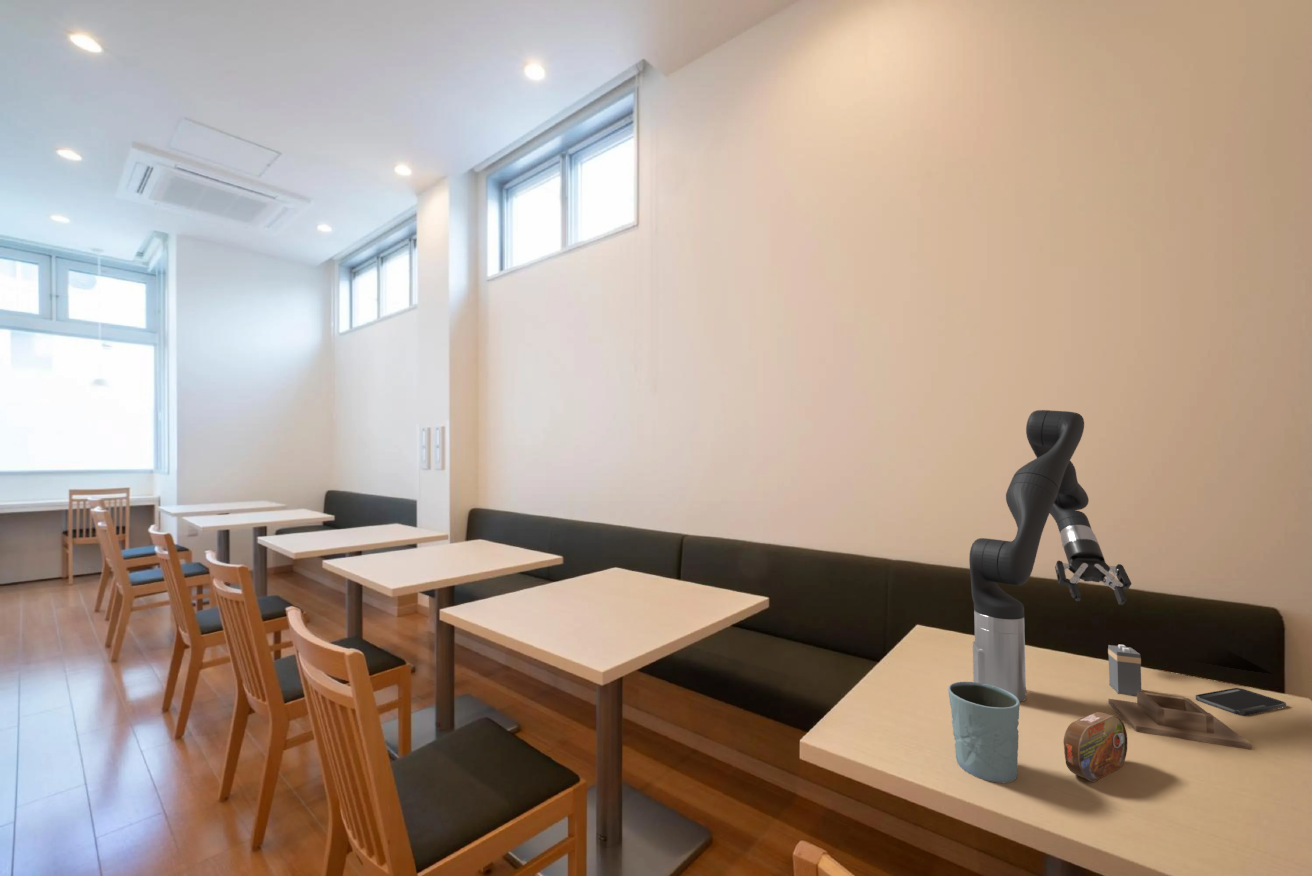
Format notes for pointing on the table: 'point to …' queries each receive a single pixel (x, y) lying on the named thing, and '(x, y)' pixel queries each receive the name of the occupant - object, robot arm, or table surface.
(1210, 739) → the dock
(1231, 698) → the phone
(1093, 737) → the tin
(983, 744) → the teal embossed cup
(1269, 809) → the table surface
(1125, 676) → the cell
